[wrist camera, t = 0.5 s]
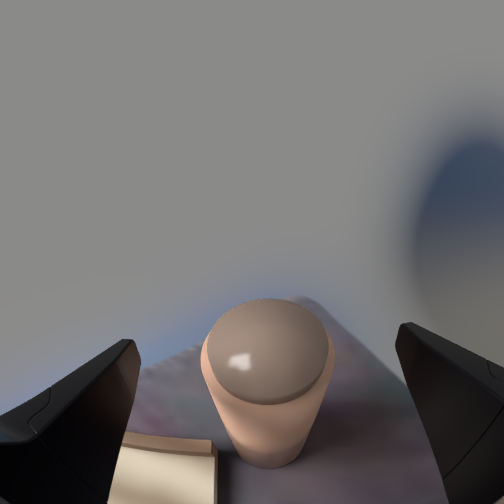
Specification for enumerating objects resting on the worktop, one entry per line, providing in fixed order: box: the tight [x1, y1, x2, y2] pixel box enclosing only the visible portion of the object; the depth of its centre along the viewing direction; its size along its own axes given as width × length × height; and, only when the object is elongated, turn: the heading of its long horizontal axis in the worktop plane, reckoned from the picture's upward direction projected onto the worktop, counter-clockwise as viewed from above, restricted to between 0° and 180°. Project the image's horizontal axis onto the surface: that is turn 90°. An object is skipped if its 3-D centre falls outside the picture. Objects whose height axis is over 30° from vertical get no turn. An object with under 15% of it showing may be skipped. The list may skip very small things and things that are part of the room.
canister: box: [201, 299, 335, 469], centre depth 15 cm, size 6×6×14 cm
